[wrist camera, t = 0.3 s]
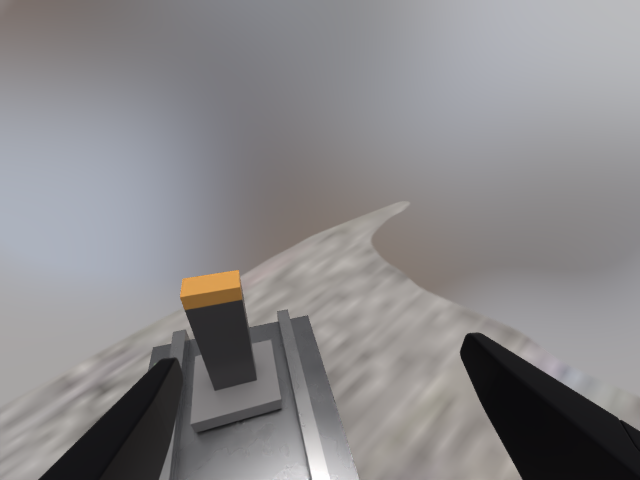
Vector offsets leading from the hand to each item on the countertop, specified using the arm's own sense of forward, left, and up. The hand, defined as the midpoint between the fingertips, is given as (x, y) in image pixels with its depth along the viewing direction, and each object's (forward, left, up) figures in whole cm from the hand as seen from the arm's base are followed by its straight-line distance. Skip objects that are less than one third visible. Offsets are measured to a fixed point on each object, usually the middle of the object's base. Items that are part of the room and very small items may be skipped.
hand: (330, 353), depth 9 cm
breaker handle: (+6, +6, -14) cm, 17 cm away
